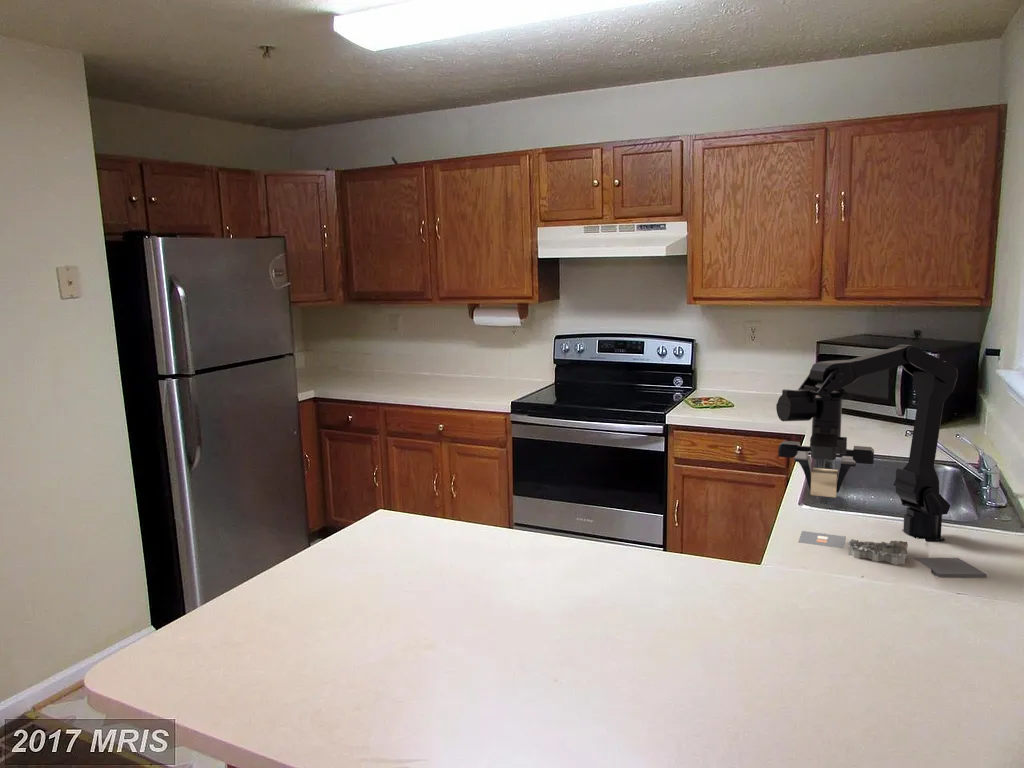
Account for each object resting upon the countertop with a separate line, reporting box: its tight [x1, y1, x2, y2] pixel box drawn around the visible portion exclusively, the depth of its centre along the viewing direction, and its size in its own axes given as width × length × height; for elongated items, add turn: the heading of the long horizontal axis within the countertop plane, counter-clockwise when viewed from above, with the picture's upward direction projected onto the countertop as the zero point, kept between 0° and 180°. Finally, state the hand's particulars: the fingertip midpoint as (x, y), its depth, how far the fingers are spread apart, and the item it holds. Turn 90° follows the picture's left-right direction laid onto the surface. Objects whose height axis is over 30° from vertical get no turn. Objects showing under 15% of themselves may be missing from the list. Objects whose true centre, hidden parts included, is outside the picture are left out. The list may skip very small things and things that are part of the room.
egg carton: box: [847, 538, 909, 566], centre depth 142 cm, size 11×8×4 cm
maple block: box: [810, 467, 839, 499], centre depth 152 cm, size 5×5×5 cm
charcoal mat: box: [913, 557, 988, 578], centre depth 137 cm, size 9×9×1 cm
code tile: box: [797, 530, 847, 549], centre depth 153 cm, size 9×9×1 cm
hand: (824, 490), depth 152 cm, fingers closed on maple block, 5 cm apart
